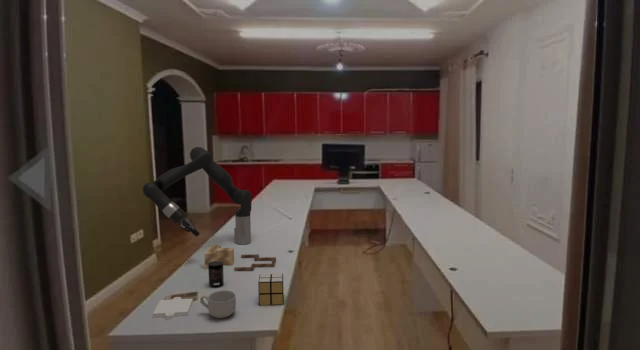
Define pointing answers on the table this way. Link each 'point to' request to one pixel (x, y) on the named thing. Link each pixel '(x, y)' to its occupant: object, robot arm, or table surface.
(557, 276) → the table surface
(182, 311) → the mounting plate
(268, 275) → the puzzle cube
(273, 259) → the T outline
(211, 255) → the T block
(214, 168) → the robot arm
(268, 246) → the table surface
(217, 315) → the teacup
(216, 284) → the supplement container
